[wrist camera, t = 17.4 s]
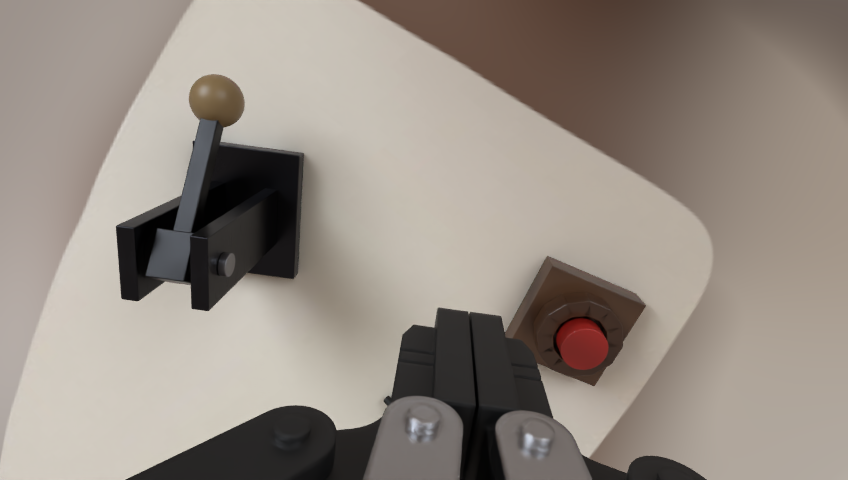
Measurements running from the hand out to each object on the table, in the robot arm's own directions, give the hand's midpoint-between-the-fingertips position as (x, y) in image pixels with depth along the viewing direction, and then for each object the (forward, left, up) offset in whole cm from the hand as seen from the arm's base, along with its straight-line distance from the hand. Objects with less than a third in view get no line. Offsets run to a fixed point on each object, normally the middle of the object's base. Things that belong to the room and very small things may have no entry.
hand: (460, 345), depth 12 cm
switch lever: (+7, -14, -20) cm, 25 cm away
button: (+8, +14, -23) cm, 28 cm away
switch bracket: (+10, -13, -27) cm, 32 cm away
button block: (+8, +14, -27) cm, 31 cm away
